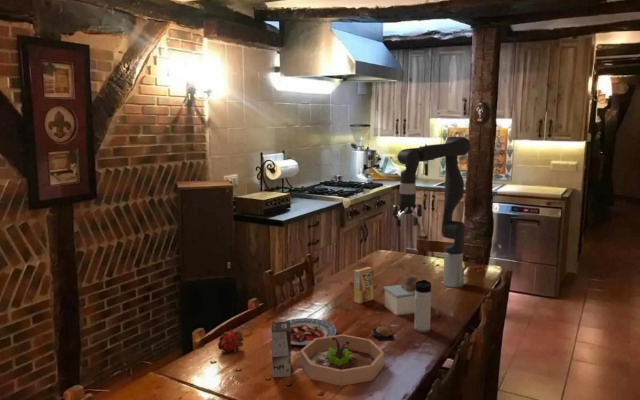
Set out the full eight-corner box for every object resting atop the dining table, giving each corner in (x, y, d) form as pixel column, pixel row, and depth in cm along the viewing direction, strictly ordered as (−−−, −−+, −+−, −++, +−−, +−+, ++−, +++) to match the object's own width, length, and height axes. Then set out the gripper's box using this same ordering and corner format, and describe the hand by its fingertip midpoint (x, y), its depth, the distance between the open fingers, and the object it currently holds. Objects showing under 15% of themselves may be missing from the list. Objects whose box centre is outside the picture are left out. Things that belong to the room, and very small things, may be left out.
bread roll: (370, 331, 216) (370, 323, 216) (390, 331, 217) (390, 322, 216) (374, 342, 206) (374, 333, 205) (395, 342, 206) (396, 333, 206)
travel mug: (431, 327, 219) (432, 280, 216) (428, 333, 213) (430, 285, 209) (415, 325, 221) (416, 279, 218) (413, 331, 215) (414, 283, 212)
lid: (415, 285, 248) (415, 282, 248) (430, 294, 236) (430, 291, 235) (383, 289, 243) (383, 286, 242) (396, 298, 230) (396, 295, 230)
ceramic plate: (287, 355, 195) (287, 347, 195) (261, 330, 218) (261, 323, 217) (348, 341, 207) (348, 333, 206) (317, 318, 229) (317, 312, 229)
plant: (332, 351, 199) (332, 322, 197) (377, 366, 187) (378, 335, 185) (298, 371, 183) (297, 340, 181) (344, 389, 171) (344, 356, 169)
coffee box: (291, 376, 179) (290, 331, 176) (272, 377, 178) (271, 332, 175) (290, 364, 188) (290, 320, 185) (272, 364, 187) (271, 321, 184)
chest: (415, 302, 248) (416, 285, 247) (428, 311, 237) (429, 293, 236) (384, 306, 243) (384, 289, 242) (396, 315, 232) (396, 298, 230)
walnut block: (411, 286, 242) (411, 274, 241) (416, 290, 237) (416, 277, 236) (401, 287, 240) (401, 275, 239) (406, 291, 236) (406, 278, 235)
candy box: (367, 297, 255) (367, 266, 252) (373, 299, 252) (373, 268, 249) (353, 301, 249) (353, 270, 247) (359, 304, 246) (360, 272, 244)
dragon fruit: (244, 348, 204) (223, 365, 194) (229, 333, 206) (207, 348, 196) (252, 335, 199) (230, 352, 189) (236, 320, 201) (214, 335, 192)
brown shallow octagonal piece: (362, 343, 204) (362, 331, 203) (394, 376, 178) (394, 362, 178) (294, 354, 195) (294, 341, 194) (317, 390, 170) (317, 375, 169)
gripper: (397, 194, 243) (397, 229, 246) (425, 192, 248) (424, 226, 251) (390, 192, 251) (389, 225, 253) (417, 190, 255) (416, 223, 258)
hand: (406, 226), depth 252 cm, fingers open, 8 cm apart
